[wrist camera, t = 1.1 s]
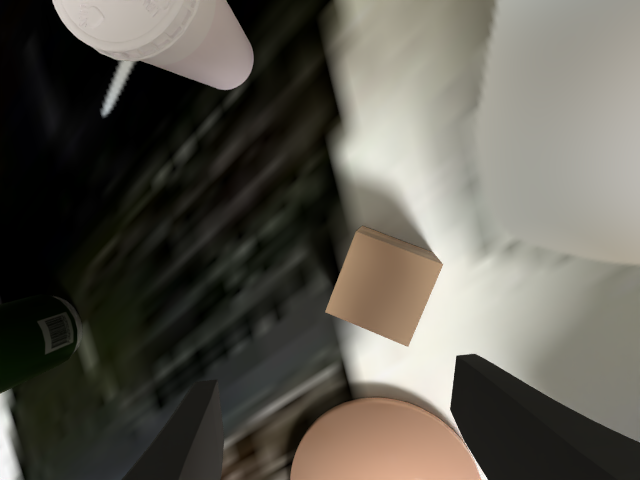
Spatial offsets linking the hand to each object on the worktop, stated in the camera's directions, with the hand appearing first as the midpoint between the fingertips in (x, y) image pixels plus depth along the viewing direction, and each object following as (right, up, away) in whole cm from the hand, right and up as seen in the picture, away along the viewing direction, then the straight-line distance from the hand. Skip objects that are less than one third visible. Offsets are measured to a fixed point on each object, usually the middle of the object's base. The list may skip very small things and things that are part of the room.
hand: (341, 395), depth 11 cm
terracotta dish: (+4, -11, +13) cm, 18 cm away
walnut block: (+3, +3, +12) cm, 13 cm away
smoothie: (-7, +16, +13) cm, 21 cm away
